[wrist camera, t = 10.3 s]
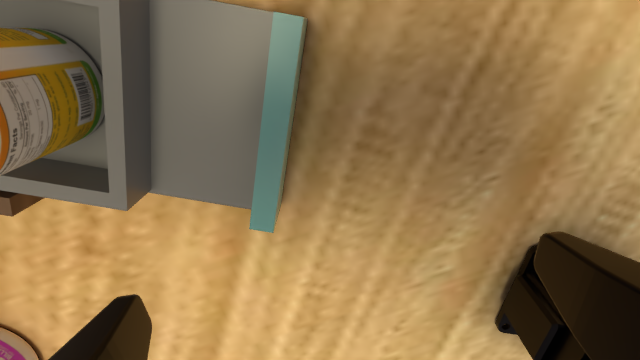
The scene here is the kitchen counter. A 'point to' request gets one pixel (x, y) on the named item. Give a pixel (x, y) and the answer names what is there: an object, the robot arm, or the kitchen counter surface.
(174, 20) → the tray
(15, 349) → the supplement bottle
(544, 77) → the kitchen counter surface
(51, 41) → the supplement bottle
